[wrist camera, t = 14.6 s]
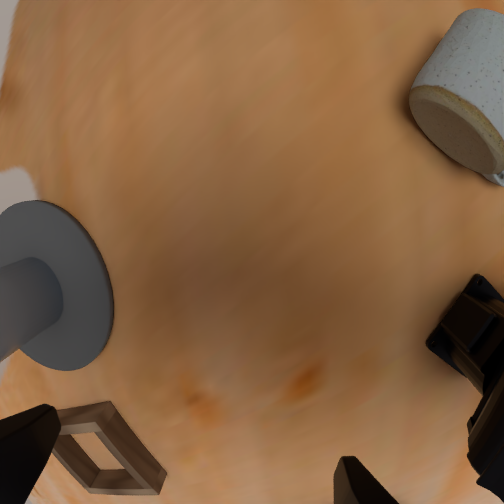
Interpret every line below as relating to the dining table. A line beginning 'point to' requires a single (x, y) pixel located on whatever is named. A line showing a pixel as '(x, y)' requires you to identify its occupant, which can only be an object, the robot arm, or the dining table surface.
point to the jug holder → (117, 442)
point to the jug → (27, 302)
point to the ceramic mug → (466, 93)
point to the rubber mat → (62, 281)
